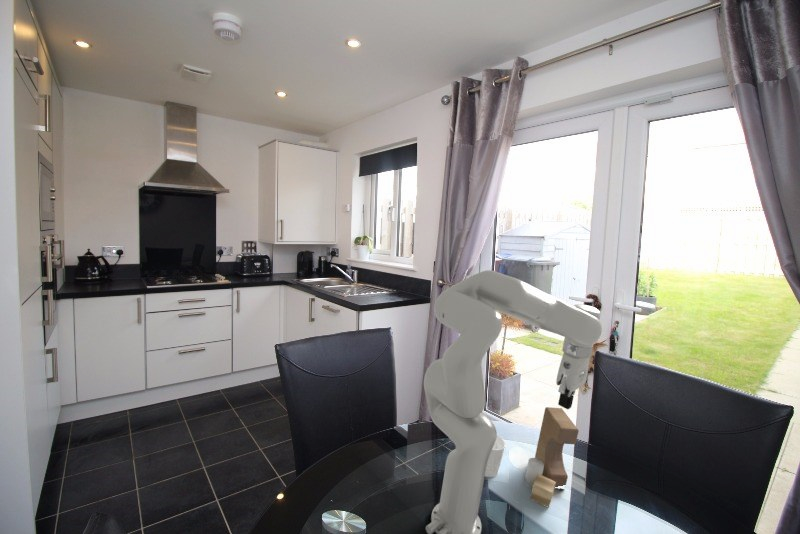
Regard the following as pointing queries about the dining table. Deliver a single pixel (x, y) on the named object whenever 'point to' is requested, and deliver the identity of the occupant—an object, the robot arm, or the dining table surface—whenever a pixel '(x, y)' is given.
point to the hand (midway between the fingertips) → (564, 406)
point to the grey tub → (533, 470)
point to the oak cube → (543, 490)
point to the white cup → (495, 458)
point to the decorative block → (555, 443)
